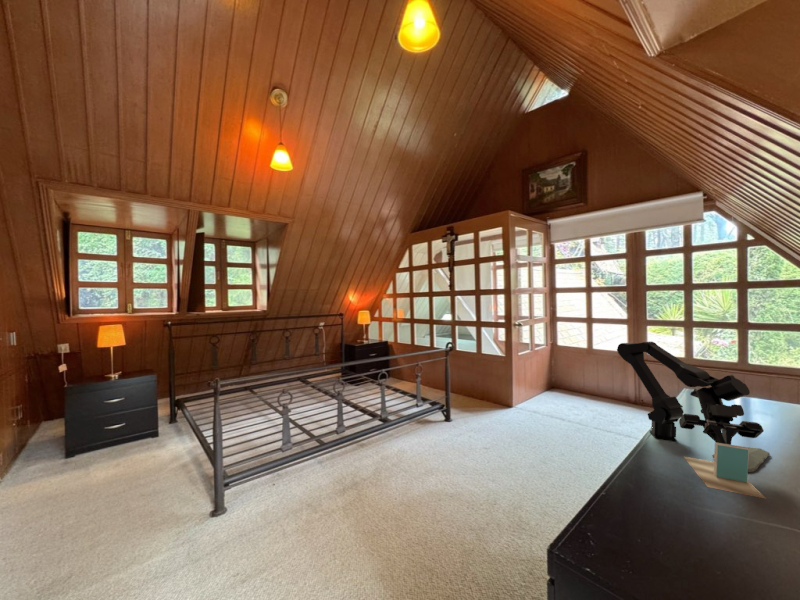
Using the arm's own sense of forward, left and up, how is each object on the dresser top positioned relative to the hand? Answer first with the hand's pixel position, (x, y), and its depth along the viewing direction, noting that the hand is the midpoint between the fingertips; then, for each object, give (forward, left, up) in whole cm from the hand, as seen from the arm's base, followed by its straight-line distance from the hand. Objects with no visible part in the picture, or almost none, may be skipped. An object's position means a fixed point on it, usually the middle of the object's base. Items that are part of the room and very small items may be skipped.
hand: (727, 452), depth 97 cm
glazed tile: (0, -2, -7) cm, 7 cm away
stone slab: (+11, +15, -7) cm, 20 cm away
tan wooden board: (-2, -1, -7) cm, 8 cm away
